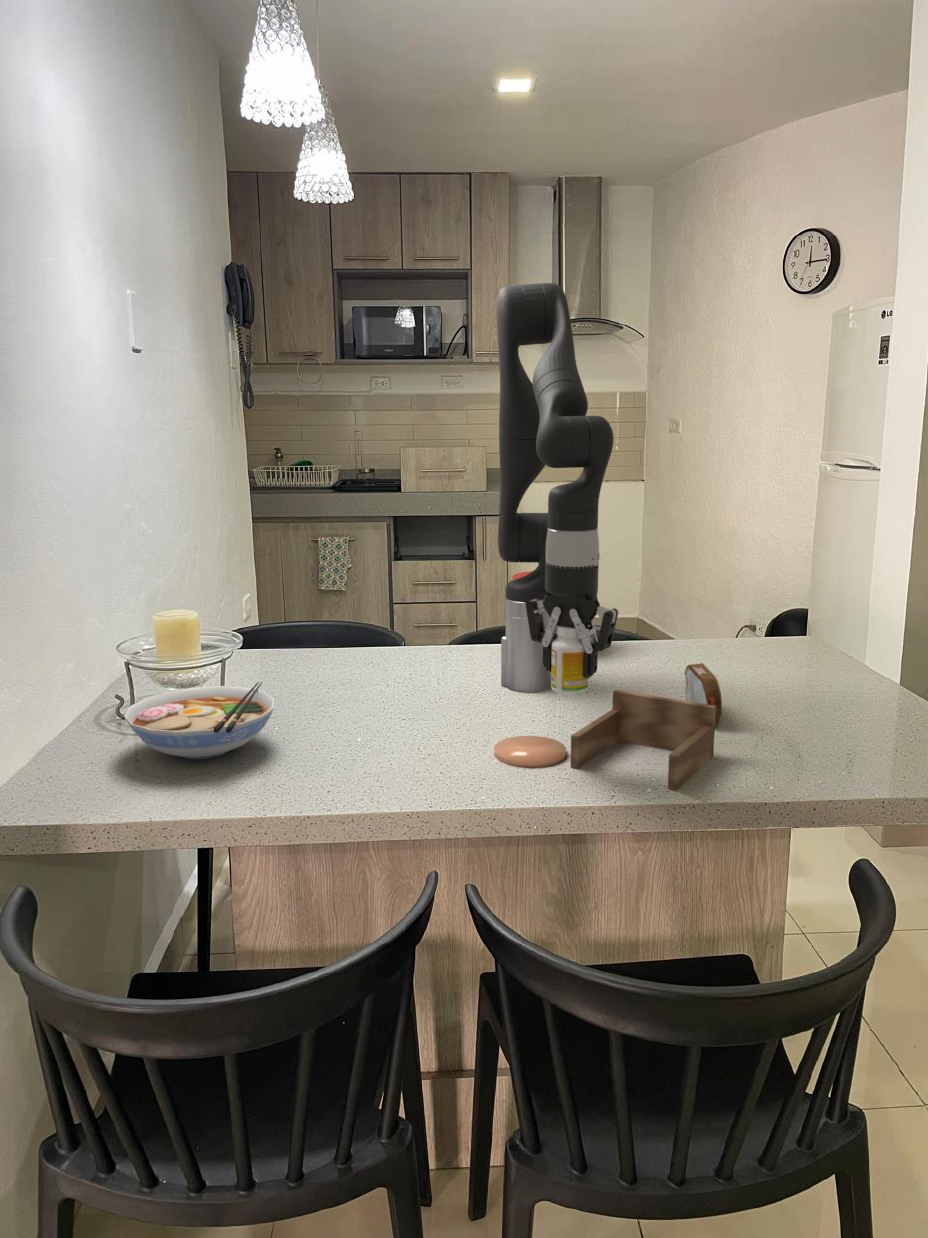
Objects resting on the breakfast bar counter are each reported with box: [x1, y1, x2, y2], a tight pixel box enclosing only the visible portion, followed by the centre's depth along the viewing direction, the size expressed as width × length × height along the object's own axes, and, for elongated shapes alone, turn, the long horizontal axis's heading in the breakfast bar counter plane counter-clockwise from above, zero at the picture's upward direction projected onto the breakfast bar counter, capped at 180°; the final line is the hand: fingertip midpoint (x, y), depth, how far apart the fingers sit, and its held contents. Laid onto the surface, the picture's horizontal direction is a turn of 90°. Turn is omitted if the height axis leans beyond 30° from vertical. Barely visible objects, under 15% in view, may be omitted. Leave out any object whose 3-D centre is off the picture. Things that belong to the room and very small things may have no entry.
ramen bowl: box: [123, 681, 275, 760], centre depth 148 cm, size 25×23×8 cm
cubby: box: [570, 688, 716, 791], centre depth 143 cm, size 16×16×8 cm
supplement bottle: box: [551, 626, 589, 695], centre depth 138 cm, size 5×5×10 cm
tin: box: [684, 662, 723, 724], centre depth 164 cm, size 15×3×8 cm, turn 1°
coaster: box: [494, 735, 567, 768], centre depth 147 cm, size 11×11×1 cm
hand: (569, 672), depth 139 cm, fingers closed on supplement bottle, 5 cm apart
